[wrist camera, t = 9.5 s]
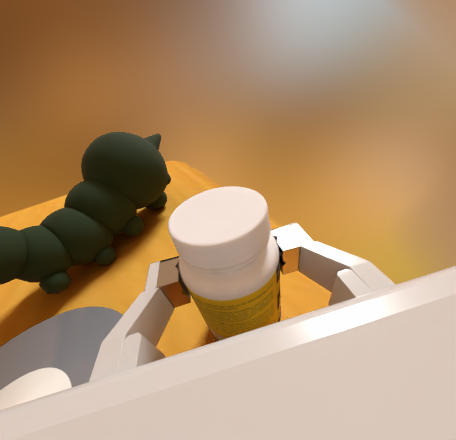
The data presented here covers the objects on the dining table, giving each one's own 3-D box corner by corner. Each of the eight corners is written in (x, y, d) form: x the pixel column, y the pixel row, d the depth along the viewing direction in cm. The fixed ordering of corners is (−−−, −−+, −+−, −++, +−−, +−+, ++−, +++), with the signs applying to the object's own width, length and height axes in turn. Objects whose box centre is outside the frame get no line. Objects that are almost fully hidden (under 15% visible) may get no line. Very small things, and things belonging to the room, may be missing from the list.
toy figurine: (61, 351, 15) (203, 183, 31) (-1031, 23, 3) (144, 21, 18) (16, 312, 19) (162, 181, 35) (-494, 113, 7) (90, 48, 22)
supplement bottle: (296, 336, 10) (308, 224, 5) (219, 370, 10) (153, 280, 5) (260, 272, 14) (248, 172, 9) (203, 294, 14) (157, 200, 9)
